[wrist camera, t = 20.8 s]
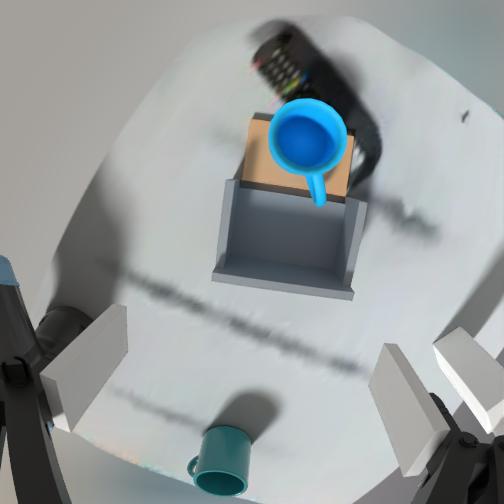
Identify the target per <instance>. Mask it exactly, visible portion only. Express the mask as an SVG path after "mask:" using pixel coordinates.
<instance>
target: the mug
mask: <svg viewBox="0 0 504 504" xmlns="http://www.w3.org/2000/svg"><path fill="white" fill-rule="evenodd" d="M347 141H348V140H347V131H346V127H345V125H344V122H343V120H342V118H341V117H340V115H339V114H338V113H337V112H336V111H335V110H334V109H333V108H332V107H330V106H329V105H327V104H326V103H324V102H322V101H318V100H315V99H311V98H308V99H297V100H294V101H291V102H289V103H286V104H285V105H284V106H283V107H281V108H280V109H279V110H278V111H277V112H276V114H275V115H274V117H273V119H272V120H271V123H270V127H269V132H268V143H269V151H270V153H271V156H272V158H273V160H274V161H275V162H276V163H277V165H278V166H279V167H280V168H282V169H283V170H285V171H287V172H289V173H292V174H296V175H304V176H305V177H306V181H307V184H308V188H309V191H310V194H311V197H312V199H313V202H314V204H315V205H316V206H317V207H322V206H324V205H325V204H326V199H327V196H326V187H325V182H324V176H323V173H324V172H327V171H329V170H331V169H332V168H333V167H334V166H335V165H337V164H338V163H339V162H340V160H341V158H342V157H343V155H344V153H345V150H346V146H347Z"/></svg>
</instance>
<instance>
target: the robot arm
mask: <svg viewBox="0 0 504 504" xmlns="http://www.w3.org/2000/svg"><path fill="white" fill-rule="evenodd" d="M19 286H20V285H19V283H18V282H17V281H16V278H15V275H14V272H13V269H12V266H11V263H10V262H9V260H8V259H7V258H6V257H4V256H2V255H0V468H1V460H2V454H3V448H4V442H5V436H6V434H7V441H8V448H9V457H10V463H11V469H12V475H13V481H14V486H15V491H16V495H17V500H18V504H72V503H71V500H70V497H69V494H68V491H67V489H66V486H65V483H64V480H63V477H62V473H61V470H60V467H59V464H58V460H57V457H56V453H55V449H54V446H53V442H52V438H51V434H50V432H51V431H52V429H53V427H54V425H55V426H56V427H58V428H60V429H62V430H65V431H68V432H70V433H71V432H72V430H73V429H74V427H75V426H76V424H77V423H78V421H79V420H80V419H81V417H82V416H83V414H84V413H85V411H86V410H87V409H88V407H89V406H90V404H91V403H92V401H93V400H94V399H95V397H96V396H97V394H98V393H99V391H100V390H101V389H102V387H103V386H104V384H105V383H106V382H107V380H108V379H109V377H110V376H111V375H112V373H113V372H114V371H115V369H116V368H117V366H118V365H119V364H120V362H121V361H122V359H123V358H124V357H125V355H126V354H127V353H128V340H127V309H126V306H122V305H118V304H112V305H111V306H110V307H109V308H108V309H107V310H106V311H104V312H103V313H102V314H101V315H100V316H99V317H98V318H97V319H96V320H95V321H93V320H92V319H91V318H90V317H88V316H87V315H86V314H84V313H83V312H81V311H79V310H77V309H75V308H72V307H66V306H61V307H57V308H54V309H53V310H51V311H50V312H48V313H47V314H46V315H45V316H44V317H43V318H42V319H41V321H40V323H39V326H38V327H37V329H36V331H34V328H33V326H32V323H31V321H30V318H29V315H28V313H27V310H26V307H25V304H24V301H23V298H22V295H21V292H20V289H19ZM368 386H369V389H370V391H371V394H372V396H373V399H374V401H375V404H376V406H377V408H378V411H379V414H380V416H381V419H382V421H383V424H384V426H385V429H386V431H387V434H388V437H389V439H390V442H391V444H392V447H393V450H394V452H395V455H396V458H397V461H398V463H399V466H400V469H401V471H402V474H403V477H408V476H415V475H419V474H420V473H421V471H422V470H423V468H424V467H425V466H426V467H427V470H428V474H427V475H426V476H425V477H424V479H423V480H422V481H421V483H420V484H419V485H418V486H417V488H419V490H418V491H417V493H416V495H415V497H414V499H413V501H412V502H411V504H504V436H503V435H499V436H497V437H496V438H495V439H494V440H493V442H492V443H491V444H485V443H479V441H478V439H477V438H476V437H475V436H474V435H472V434H470V433H468V432H461V431H460V429H459V427H458V425H457V424H456V422H455V421H454V419H453V417H452V416H451V414H450V413H449V411H448V409H447V408H445V405H444V403H443V402H442V400H441V399H440V398H439V397H438V396H437V395H435V394H434V393H428V391H427V390H426V388H425V387H424V385H423V383H422V382H421V380H420V379H419V377H418V376H417V374H416V373H415V371H414V369H413V368H412V366H411V365H410V363H409V362H408V360H407V359H406V357H405V356H404V354H403V353H402V351H401V350H400V348H399V347H398V345H397V344H388V343H384V345H383V348H382V350H381V353H380V356H379V359H378V362H377V364H376V367H375V370H374V372H373V375H372V377H371V380H370V383H369V385H368Z"/></svg>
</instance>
